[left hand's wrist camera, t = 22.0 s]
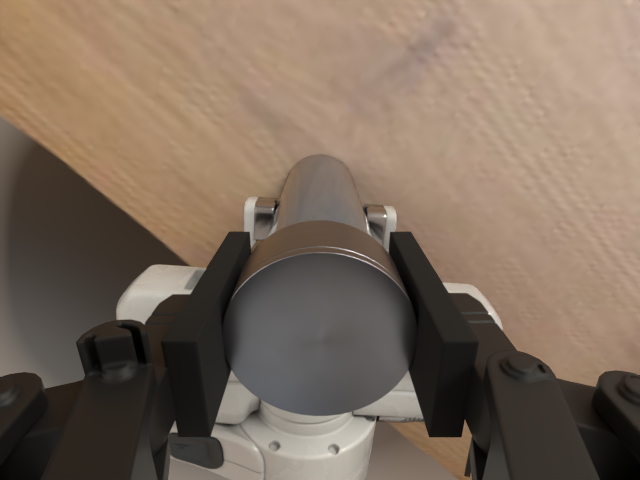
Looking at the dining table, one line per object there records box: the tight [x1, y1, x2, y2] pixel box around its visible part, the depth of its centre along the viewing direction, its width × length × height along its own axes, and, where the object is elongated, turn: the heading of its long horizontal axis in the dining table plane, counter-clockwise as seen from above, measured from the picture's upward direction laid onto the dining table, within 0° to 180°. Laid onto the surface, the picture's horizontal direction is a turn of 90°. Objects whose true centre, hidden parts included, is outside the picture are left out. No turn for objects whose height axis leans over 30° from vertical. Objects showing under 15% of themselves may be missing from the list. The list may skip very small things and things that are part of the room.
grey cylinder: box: [266, 155, 374, 238], centre depth 18 cm, size 4×4×16 cm
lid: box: [222, 220, 418, 416], centre depth 11 cm, size 5×5×2 cm
